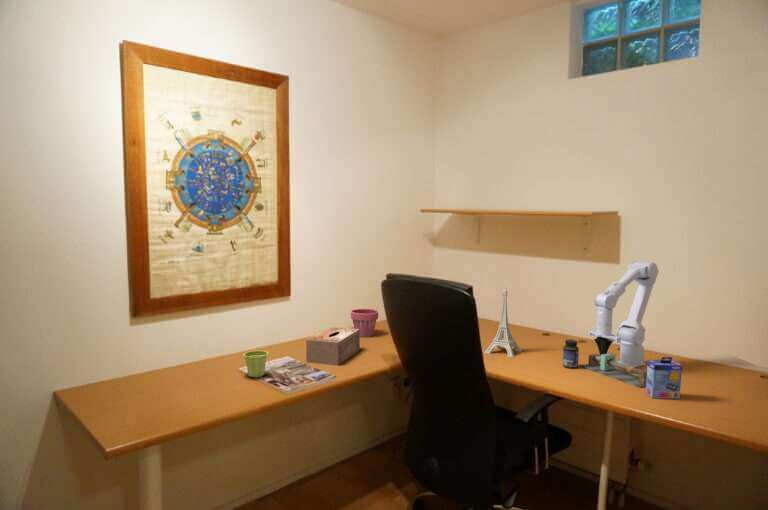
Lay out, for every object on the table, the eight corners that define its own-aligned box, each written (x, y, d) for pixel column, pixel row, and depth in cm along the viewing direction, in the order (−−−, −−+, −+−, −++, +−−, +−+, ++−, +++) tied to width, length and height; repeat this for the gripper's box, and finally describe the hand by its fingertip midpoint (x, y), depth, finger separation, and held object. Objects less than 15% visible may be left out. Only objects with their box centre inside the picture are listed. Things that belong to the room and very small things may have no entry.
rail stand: (581, 366, 213) (581, 354, 212) (598, 363, 217) (599, 351, 216) (640, 387, 187) (640, 373, 187) (658, 384, 192) (659, 370, 191)
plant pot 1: (246, 380, 194) (246, 358, 193) (241, 373, 202) (241, 352, 201) (271, 377, 198) (270, 355, 197) (265, 370, 206) (264, 349, 206)
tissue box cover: (337, 366, 213) (337, 342, 212) (306, 362, 218) (306, 339, 217) (359, 350, 238) (359, 329, 237) (331, 347, 242) (331, 326, 241)
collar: (600, 369, 206) (600, 354, 206) (610, 367, 209) (611, 353, 208) (604, 370, 204) (604, 356, 204) (614, 368, 207) (615, 354, 206)
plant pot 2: (382, 333, 269) (382, 309, 268) (371, 339, 256) (371, 314, 255) (358, 331, 274) (358, 307, 273) (346, 336, 262) (345, 312, 261)
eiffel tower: (513, 357, 226) (514, 290, 223) (484, 353, 233) (485, 288, 230) (521, 350, 237) (523, 286, 235) (494, 346, 244) (495, 284, 242)
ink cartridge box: (652, 398, 177) (654, 357, 175) (644, 393, 182) (646, 353, 181) (681, 399, 176) (683, 358, 175) (672, 393, 182) (674, 353, 181)
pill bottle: (579, 369, 209) (580, 343, 208) (563, 368, 210) (564, 342, 209) (576, 365, 215) (577, 339, 214) (561, 364, 216) (562, 338, 215)
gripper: (583, 320, 212) (582, 352, 213) (612, 327, 199) (610, 361, 200) (595, 319, 215) (594, 350, 216) (624, 326, 202) (623, 359, 203)
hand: (603, 356), depth 208 cm, fingers closed
